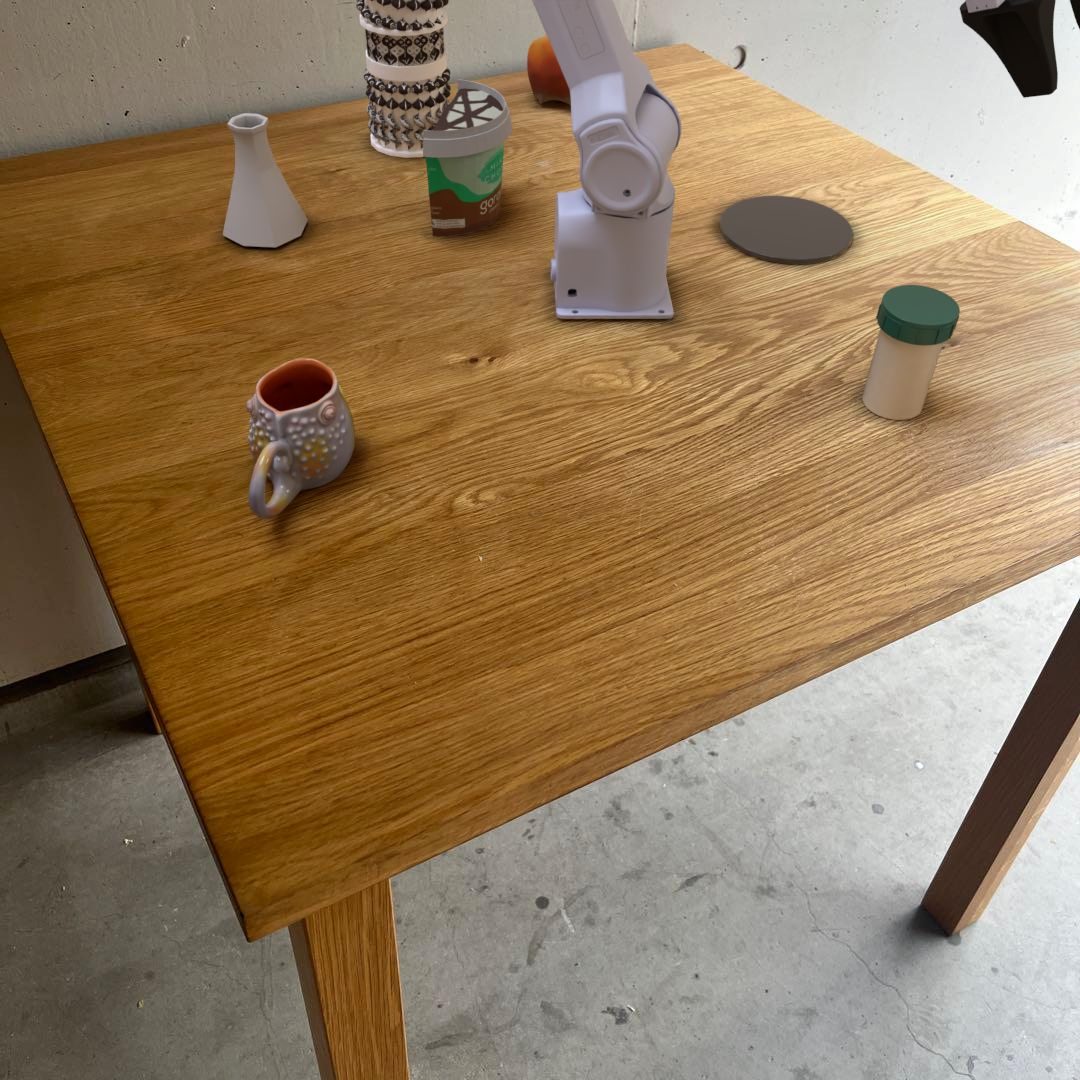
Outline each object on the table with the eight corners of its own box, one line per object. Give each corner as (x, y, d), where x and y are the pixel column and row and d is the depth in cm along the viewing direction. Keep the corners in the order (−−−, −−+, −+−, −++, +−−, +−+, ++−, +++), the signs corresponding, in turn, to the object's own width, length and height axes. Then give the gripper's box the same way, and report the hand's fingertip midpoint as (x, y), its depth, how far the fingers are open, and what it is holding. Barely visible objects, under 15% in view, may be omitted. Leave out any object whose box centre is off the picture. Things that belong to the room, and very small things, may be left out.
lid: (887, 345, 75) (893, 325, 74) (868, 304, 79) (874, 284, 78) (963, 345, 75) (970, 325, 74) (940, 304, 79) (947, 284, 78)
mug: (280, 423, 79) (266, 345, 74) (372, 438, 78) (363, 359, 73) (206, 536, 70) (185, 454, 65) (307, 554, 69) (293, 473, 64)
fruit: (516, 102, 117) (524, 21, 115) (527, 115, 124) (534, 39, 123) (592, 109, 116) (601, 27, 114) (598, 121, 123) (606, 44, 122)
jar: (870, 420, 80) (896, 327, 75) (855, 384, 83) (879, 293, 78) (929, 420, 80) (960, 327, 75) (913, 384, 83) (941, 293, 78)
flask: (208, 240, 97) (185, 129, 90) (253, 205, 102) (235, 97, 95) (279, 257, 95) (261, 145, 89) (321, 220, 100) (307, 111, 93)
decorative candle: (428, 166, 109) (413, -122, 91) (349, 148, 111) (319, -136, 94) (472, 132, 115) (465, -145, 97) (395, 115, 117) (375, -157, 100)
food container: (495, 251, 97) (494, 140, 90) (428, 243, 98) (421, 132, 91) (524, 188, 106) (526, 83, 99) (462, 181, 106) (459, 76, 100)
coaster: (730, 264, 96) (730, 259, 96) (710, 200, 105) (711, 195, 104) (866, 264, 96) (867, 259, 96) (835, 200, 105) (836, 195, 105)
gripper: (1020, -115, 60) (1071, 116, 67) (1153, -233, 64) (1188, -6, 71) (910, -84, 65) (968, 126, 72) (1040, -195, 70) (1083, 13, 77)
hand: (1070, 62), depth 72 cm, fingers open, 7 cm apart
